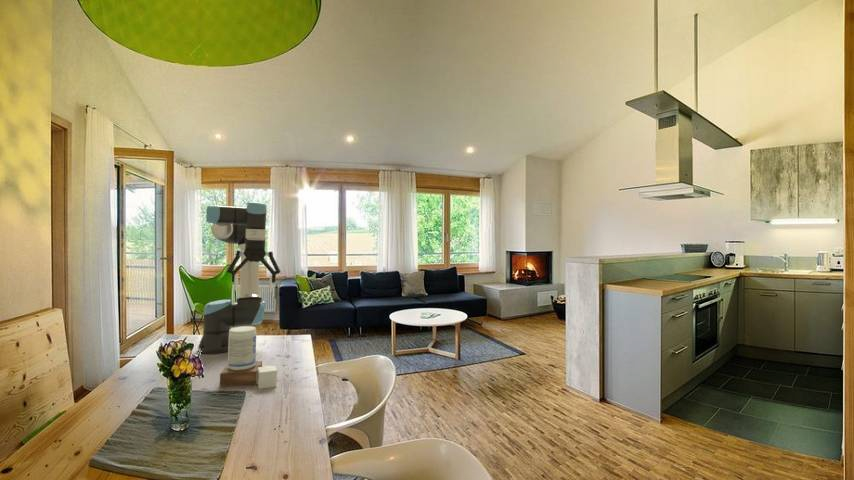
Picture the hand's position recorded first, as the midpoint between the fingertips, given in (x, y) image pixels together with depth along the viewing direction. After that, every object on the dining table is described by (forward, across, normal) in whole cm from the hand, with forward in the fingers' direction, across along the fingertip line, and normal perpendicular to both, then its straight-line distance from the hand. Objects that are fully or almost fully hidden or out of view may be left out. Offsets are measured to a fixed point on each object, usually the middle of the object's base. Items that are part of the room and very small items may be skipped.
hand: (253, 290), depth 155 cm
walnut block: (+32, 0, -14) cm, 35 cm away
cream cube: (+32, +10, -20) cm, 39 cm away
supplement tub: (+28, 0, -14) cm, 31 cm away
